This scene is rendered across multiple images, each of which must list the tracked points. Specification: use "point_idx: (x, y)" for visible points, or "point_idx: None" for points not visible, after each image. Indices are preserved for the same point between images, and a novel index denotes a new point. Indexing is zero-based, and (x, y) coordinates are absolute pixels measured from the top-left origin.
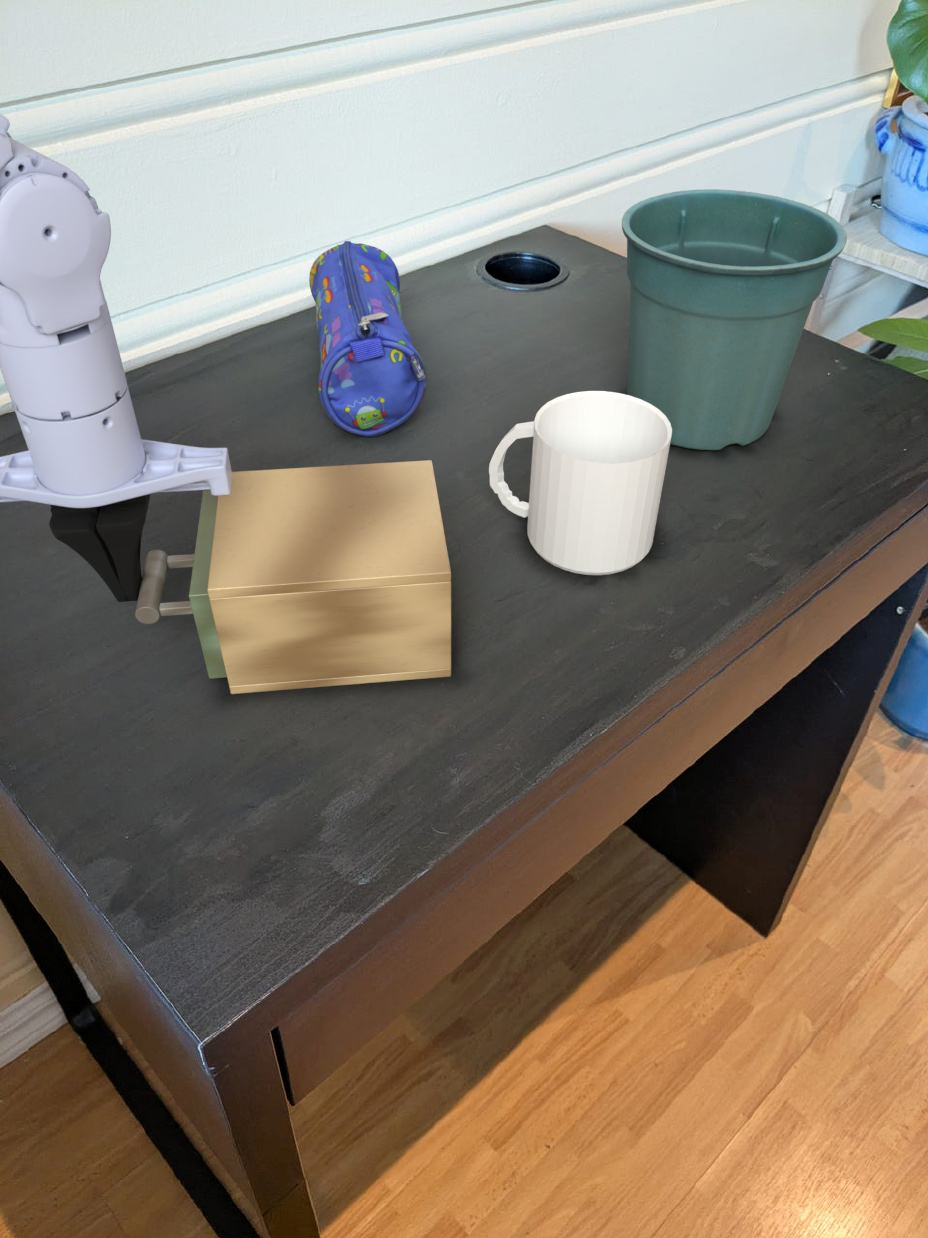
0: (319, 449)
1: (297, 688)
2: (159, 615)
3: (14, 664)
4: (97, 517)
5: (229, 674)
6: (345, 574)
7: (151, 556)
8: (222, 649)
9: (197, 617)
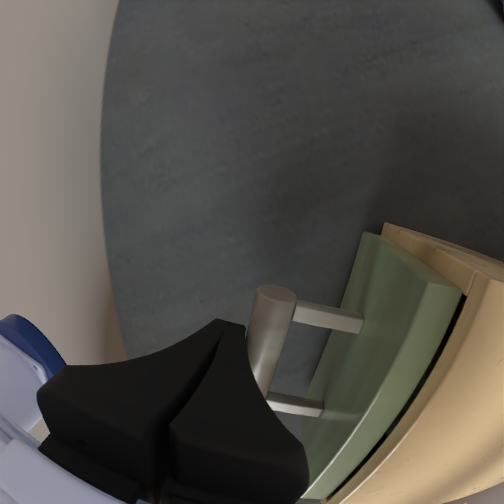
0: (481, 24)
1: None
2: None
3: (114, 291)
4: (161, 501)
5: None
6: (453, 498)
7: (266, 317)
8: None
9: None
